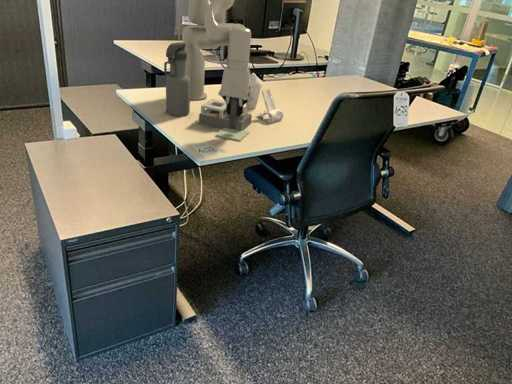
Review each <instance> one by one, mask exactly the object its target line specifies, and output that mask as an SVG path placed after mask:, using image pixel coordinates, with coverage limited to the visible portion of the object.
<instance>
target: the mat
mask: <svg viewBox="0 0 512 384" xmlns="http://www.w3.org/2000/svg"><path fill="white" fill-rule="evenodd" d="M249 134H250V131H247V130H242V131H239V130H234V129H229V128H223V129H222V128H221V130H219V131H218V132H216V134H215V137H219V138H223V139H228V140H233V141H235V142H242V140H244V139H245V138H246V137H247V136H248V135H249Z"/></svg>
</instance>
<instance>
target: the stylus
mask: <svg viewBox="0 0 512 384" xmlns="http://www.w3.org/2000/svg"><path fill="white" fill-rule="evenodd" d="M238 106H239V99H238V98H233V97H231V102H230V117H229V128H230V129H238V118H239V117H237V110H238Z"/></svg>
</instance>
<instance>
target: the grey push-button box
mask: <svg viewBox="0 0 512 384" xmlns="http://www.w3.org/2000/svg"><path fill="white" fill-rule="evenodd" d="M226 106H227V104H226V103H225V101H224V100H221V99H220V100H219V99H215V98H214V99H213V98H212V99H210V100H208V101H206V102H205V103H203V104H201V105H200V113H199V114H198V124H199V125H203V126H208V127H213V128H217V129H221V130H222V129H223V128H229V117H230V114H229V115H227V112H226ZM214 112H218V113H219V115H217V114H212V113H214ZM252 116H253V115H252V114H251V113H248V110H243V114H242V115H241V116H240V117H239V118H238V129H234V130H239V131H242V130H243V131H245V130H246V129H247V128H248V127H249V126H250V125H251V123H252ZM229 129H230V128H229Z"/></svg>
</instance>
